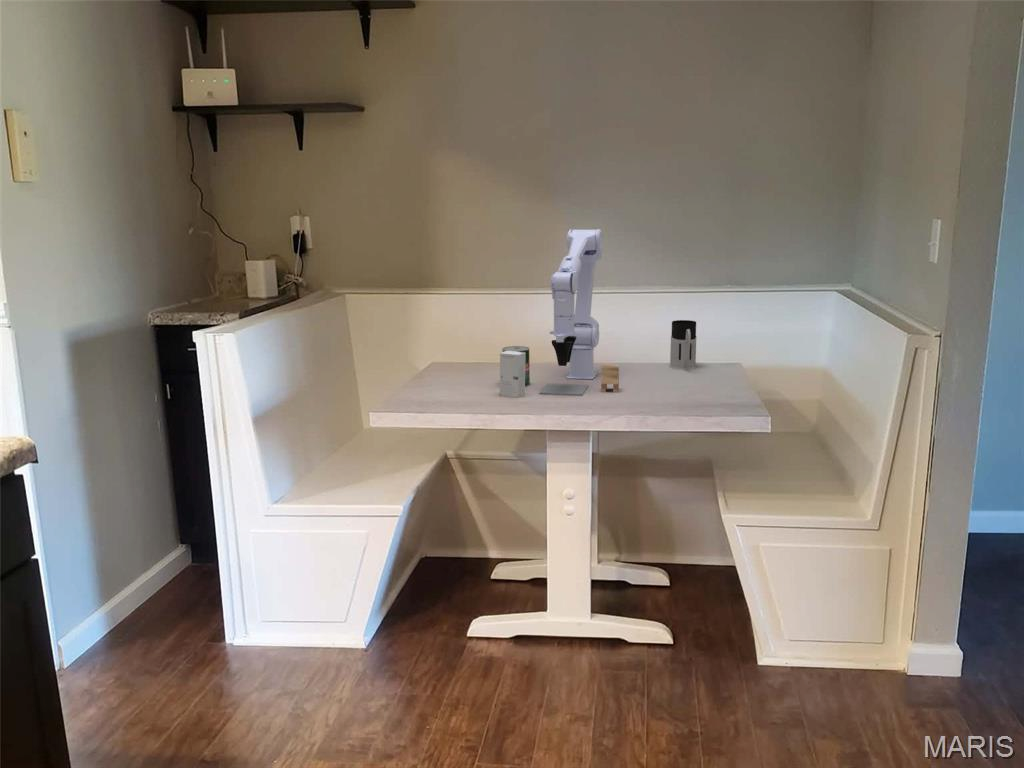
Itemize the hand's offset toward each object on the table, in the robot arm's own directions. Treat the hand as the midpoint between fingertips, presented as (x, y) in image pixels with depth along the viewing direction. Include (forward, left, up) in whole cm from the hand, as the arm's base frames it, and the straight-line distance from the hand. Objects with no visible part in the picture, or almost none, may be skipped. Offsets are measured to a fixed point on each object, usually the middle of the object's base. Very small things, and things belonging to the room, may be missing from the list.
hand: (564, 363), depth 239 cm
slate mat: (0, 0, -8) cm, 8 cm away
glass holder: (-35, +32, -8) cm, 48 cm away
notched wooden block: (-2, +13, -8) cm, 15 cm away
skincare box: (+8, -13, -8) cm, 17 cm away
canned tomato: (-5, -15, -8) cm, 18 cm away
